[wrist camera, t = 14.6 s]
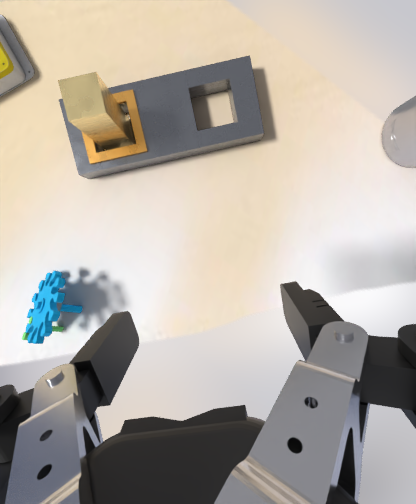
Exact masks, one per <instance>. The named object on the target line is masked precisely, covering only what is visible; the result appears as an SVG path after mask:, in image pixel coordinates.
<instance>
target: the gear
mask: <svg viewBox="0 0 416 504" xmlns="http://www.w3.org/2000/svg"><path fill="white" fill-rule="evenodd" d="M61 276H62V274H61V272H58V271H54V272H53V273H47V275H46V280H45V281H44V280H42V281H41V282H40V284H39V294H38V293H35V294H34V296H33V299H32V302H34V309H30V310H29V312H28V316H27V318H30V320H29V323H28V324H27V327H26V332H24V334H23V337H22V339H23V340H28V343H34V344H43V341H44V336H50V335H51V333H52V331H59V332H62V330H63V327H58V326H52V322H53V321H56V322H57V320H58V318H59V316H60V311H64V312H75V313H81V311H82V306H75V305H66V304H62V303H63V300H64V297H65V293H61V292H58V290H59V288H63V287H64V285H65V278H61Z"/></svg>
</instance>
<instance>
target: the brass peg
mask: <svg viewBox="0 0 416 504" xmlns="http://www.w3.org/2000/svg"><path fill="white" fill-rule="evenodd" d="M58 83H59V86H60V90H61V94H62V98H63V102H64V106H65V110H66V113H67V117H68V121H69V122H70V123H72V124H73V125H74V126H75V127H77V128H78V129H79V130H81V131H82V132H83V133H84V134H86V135H87V136H88V137H90V138H91V139H92V140H93V141H95V142H96V143H97V144H99V145H100V146H101V147H102V148H104V149H105V150H106V151H107V150H111V149H116V148H120V147H124V146H129V145H133V144H135V141H134V136H133V132H132V128H131V124H130V119H129V118H128V116H127V115H126V114H125V112H124V111H123V109H122V108H121V107H120V105H119V104H118V102H117V101H116V99H115V98H114V97H113V95H112V94H111V92H110V91H109V90H108V88H107V87H106V85H105V84H104V82H103V81H102V80H101V78H100V77H99V75H98V74H97V73H96V72H94V73H89V74H85V75H80V76H76V77H72V78H67V79H63V80H58Z"/></svg>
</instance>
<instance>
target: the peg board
mask: <svg viewBox="0 0 416 504" xmlns="http://www.w3.org/2000/svg"><path fill="white" fill-rule="evenodd" d="M108 90H109V91H110V92H111V94H112V95H113V97H114V98H115V99H116V101H117V102H118V104H119V105H120V107H121V108H122V109H123V111H124V112H125V113H129V115H130V119H131V123H132V127H133V131H134V136H135V140H136V144H133V145H129V146H124V147H120V148H116V149H111V150H107V151H103V148H102V147H101V146H100V145H99V144H97V143H96V142H95V141H93V140H92V139H91V138H90V137H88V136H87V135H86V134H84V133H83V132H82V131H81V130H79V129H78V128H77V127H75V126H74V125H73V124H72V123H70V122H69V121H68V117H67V113H66V110H65V106H64V102H63V99H59V102H60V106H61V109H62V113H63V117H64V121H65V125H66V128H67V132H68V136H69V140H70V143H71V147H72V151H73V155H74V158H75V162H76V166H77V170H78V173H79V175H80V176H83V177H85V178H87V179H90V178H95V177H99V176H103V175H108V174H112V173H117V172H121V171H126V170H130V169H135V168H139V167H144V166H148V165H153V164H157V163H162V162H166V161H170V160H175V159H179V158H184V157H188V156H193V155H197V154H202V153H206V152H211V151H215V150H220V149H224V148H228V147H233V146H237V145H242V144H246V143H251V142H255V141H260V139H261V138H262V136H263V134H264V130H263V125H262V119H261V114H260V108H259V103H258V97H257V92H256V86H255V81H254V75H253V70H252V65H251V59H250V56H245V57H241V58H237V59H232V60H228V61H224V62H219V63H215V64H211V65H206V66H202V67H198V68H193V69H189V70H185V71H180V72H176V73H172V74H167V75H163V76H159V77H154V78H150V79H146V80H141V81H137V82H133V83H128V84H124V85H120V86H115V87H111V88H108ZM225 90H228V94H229V99H230V104H231V109H232V115H233V120H234V123H231V124H226V125H222V126H217V127H213V128H208V129H204V130H200V131H197V127H196V122H195V118H194V113H193V108H192V103H191V99H190V98H195V97H199V96H203V95H208V94H212V93H217V92H221V91H225Z"/></svg>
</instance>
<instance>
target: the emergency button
mask: <svg viewBox="0 0 416 504" xmlns="http://www.w3.org/2000/svg"><path fill="white" fill-rule="evenodd" d="M34 73H35V72H34V68H33V67H32V65H31V63H30V61H29V60H28V58H27V56H26V54H25V52H24V51H23V49H22V47H21V45H20V44H19V42H18V40H17V38H16V37H15V35H14V33H13V31H12V29H11V28H10V26H9V24H8V22H7V21H6V19H5V18H4V17H3V16H2V15H1V14H0V97H1V96H3V95H4V94H6V93H8V92H9V91H11V90H13V89H14V88H16V87H18V86H20V85H21V84H23V83H25V82H26V81H28V80H30V79H31V78H32V77H33V76H34Z"/></svg>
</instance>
